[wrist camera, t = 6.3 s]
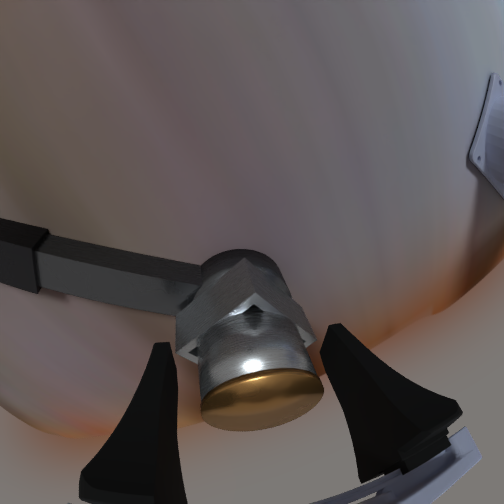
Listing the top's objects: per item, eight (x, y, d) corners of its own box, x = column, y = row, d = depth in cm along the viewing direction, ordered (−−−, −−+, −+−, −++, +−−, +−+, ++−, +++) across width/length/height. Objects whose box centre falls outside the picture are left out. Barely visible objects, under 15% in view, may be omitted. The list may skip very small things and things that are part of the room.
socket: (302, 306, 14) (342, 392, 10) (238, 352, 15) (256, 436, 11) (244, 255, 12) (276, 358, 7) (174, 315, 13) (175, 415, 8)
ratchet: (296, 259, 15) (325, 310, 12) (263, 325, 17) (279, 378, 14) (-43, 189, 8) (-84, 221, 5) (-33, 261, 10) (-63, 299, 7)
